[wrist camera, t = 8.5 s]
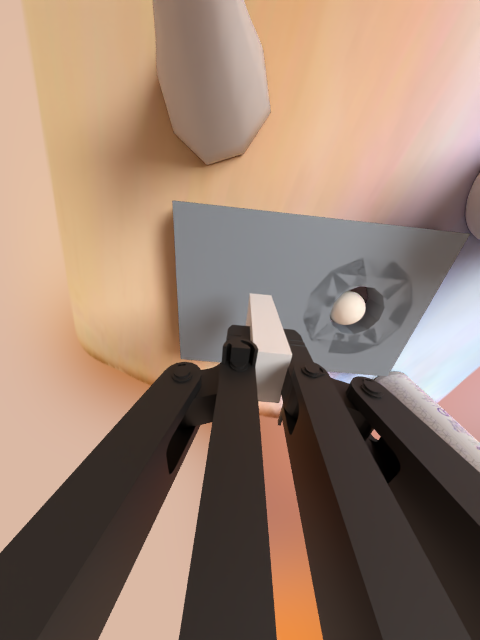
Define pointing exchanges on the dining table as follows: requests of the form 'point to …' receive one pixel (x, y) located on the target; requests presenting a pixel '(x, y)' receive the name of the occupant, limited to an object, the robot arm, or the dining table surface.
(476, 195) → the mug
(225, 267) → the plate
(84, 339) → the dining table surface
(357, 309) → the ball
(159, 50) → the flask
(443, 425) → the container
